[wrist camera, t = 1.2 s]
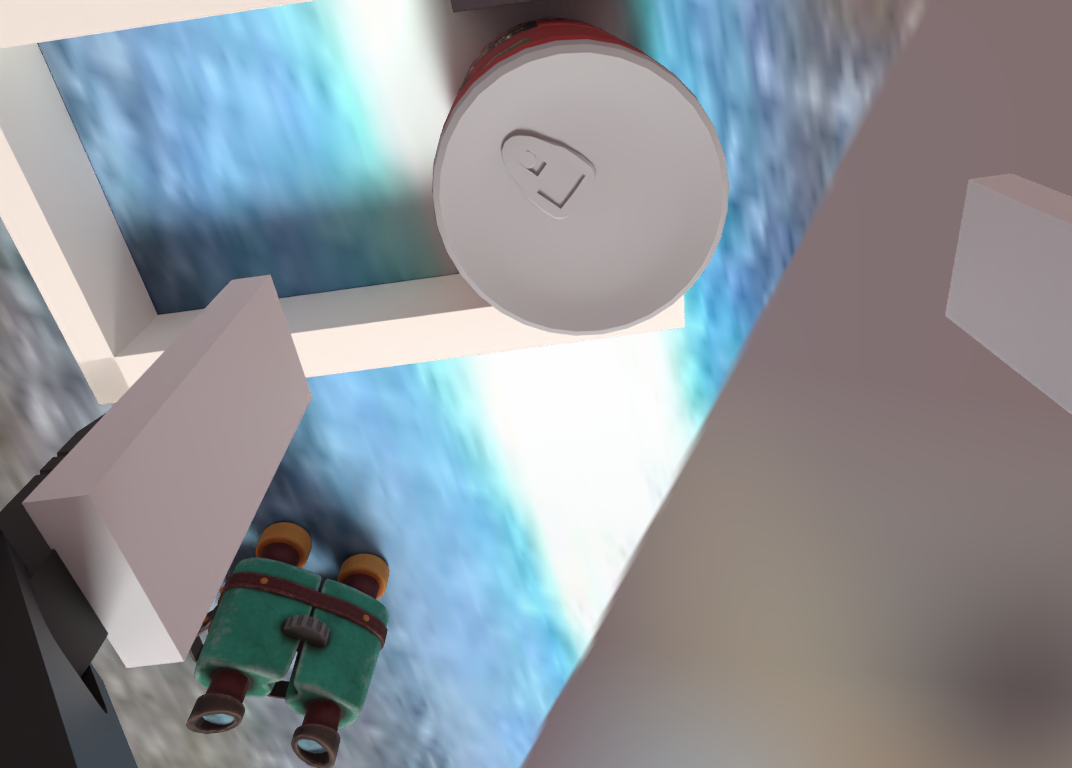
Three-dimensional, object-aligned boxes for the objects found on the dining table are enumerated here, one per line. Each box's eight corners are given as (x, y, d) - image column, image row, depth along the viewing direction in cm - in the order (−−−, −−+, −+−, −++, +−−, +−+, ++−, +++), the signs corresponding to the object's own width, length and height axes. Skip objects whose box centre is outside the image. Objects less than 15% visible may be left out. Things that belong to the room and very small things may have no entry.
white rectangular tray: (-32, -14, 25) (-120, -12, 21) (648, -120, 24) (672, -136, 20) (143, 358, 32) (99, 404, 29) (665, 288, 31) (684, 327, 28)
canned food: (491, -19, 25) (481, -14, 16) (690, 65, 27) (790, 115, 17) (432, 183, 29) (394, 287, 19) (610, 247, 30) (657, 371, 21)
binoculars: (118, 788, 33) (172, 685, 28) (209, 600, 41) (263, 495, 36) (301, 836, 35) (382, 750, 30) (351, 650, 44) (420, 558, 39)
